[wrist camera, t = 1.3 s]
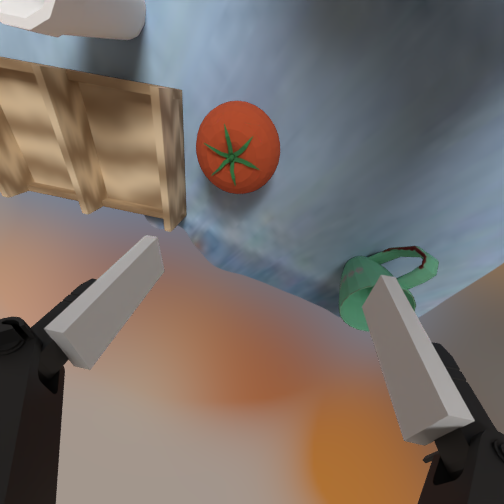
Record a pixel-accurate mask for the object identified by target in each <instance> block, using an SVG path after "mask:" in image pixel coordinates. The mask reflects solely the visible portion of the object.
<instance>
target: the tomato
mask: <svg viewBox="0 0 504 504" xmlns="http://www.w3.org/2000/svg"><path fill="white" fill-rule="evenodd" d="M196 153H197V158H198V162H199V164H200V167H201V169H202V171H203V172H204V174H205V176H206V177H207V178H208V179H209V180H210V182H212V183H213V184H214V185H215V186H216V187H218V188H220V189H222V190H224V191H226V192H229V193H235V194H245V193H249V192H253V191H255V190H257V189H259V188H261V187H262V186H263V185H265V184H266V183H267V181H268V180H269V179H270V178H271V177H272V175H273V174H274V172H275V170H276V168H277V165H278V162H279V157H280V141H279V136H278V133H277V130H276V128H275V126H274V124H273V122H272V121H271V119H270V118H269V117H268V116H267V115H266V114H265V112H264V111H263V110H261V109H260V108H258V107H257V106H255V105H253V104H250V103H248V102H243V101H230V102H226V103H224V104H221V105H219V106H217V107H216V108H214V109H213V110H212V111H210V112H209V114H208V115H207V116H206V117H205V118H204V120H203V122H202V123H201V125H200V128H199V131H198V134H197V141H196Z"/></svg>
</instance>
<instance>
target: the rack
mask: <svg viewBox="0 0 504 504" xmlns="http://www.w3.org/2000/svg"><path fill="white" fill-rule="evenodd" d="M27 191H33V192H38V193H43V194H48V195H52V196H57V197H62V198H67V199H71V200H76V201H79V204H80V207H81V210H82V213H84V214H90V213H92V212H94V211H96V210H97V209H99V208H101V207H102V206H105V207H110V208H115V209H120V210H124V211H129V212H134V213H138V214H143V215H148V216H153V217H158V218H162V219H164V227H165V231H169V232H171V231H172V230H173V229H174V228H175V227H176V226H177V225H178V224H179V223H180V222H181V221H182V220H183V218H184V217H185V216H186V188H185V160H184V132H183V105H182V90H180V89H174V88H169V87H163V86H158V85H152V84H147V83H141V82H136V81H130V80H125V79H119V78H114V77H109V76H103V75H98V74H92V73H87V72H81V71H76V70H70V69H65V68H59V67H54V66H48V65H43V64H37V63H32V62H26V61H21V60H16V59H10V58H5V57H0V192H1V194H2V196H4V197H12V196H15V195H18V194H20V193H24V192H27Z"/></svg>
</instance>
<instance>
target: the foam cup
mask: <svg viewBox="0 0 504 504" xmlns="http://www.w3.org/2000/svg"><path fill="white" fill-rule="evenodd" d="M145 14H146V5H145V0H0V22H2V23H3V24H6V25H10V26H13V27H17V28H21V29H25V30H28V31H32V32H36V33H41V34H45V35H49V36H54V37H59V36H61V35H72V36H83V37H94V38H106V39H117V40H131V39H133V38H135V37H137V36H139V34H140V32H141V30H142V28H143V26H144V24H145Z"/></svg>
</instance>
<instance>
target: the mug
mask: <svg viewBox="0 0 504 504" xmlns="http://www.w3.org/2000/svg"><path fill="white" fill-rule="evenodd" d="M398 257H421V258H422V259H423V261H422V265H420V266H419V267H417V268H416V269H414V270H413V271H412V272H410V273H407V274H405V275H403V276H401V277H398V278H396V279H397V281H398V283H399V285H400V287H401V288H402V290H403V292H404V294H405V296H406V297H407V299H408V301H409V303H410V305H411V306H412V308H413V310H414V312H415V307H416V303H415V300H414V297H413V295H412V294H411V293H410V291H409V290H408V289H410V288H413V287H415V286H417V285H420V284H422V283H424V282H426V281H428V280H429V279H431V278H433V277H434V276H436V274H437V269H438V264H439V262H438V260H437V259H435V258H434V257H432V256H431V255H430V254H428V253H427V252H425V251H424V250H423V249H421V248H420V247H418V246H409V247H395V248H389V249H386V250H384V251H382V252H379V253H377V254H375V255H372V256H370V257H364V256H357V257H354V258H352V259H350V260H349V261H348V262H347V263H346V265H345V267H344V270H343V273H342V277H341V281H340V291H339V313H340V316H341V318H342V319H343V321H344V322H345V323H347V324H348V325H349V326H351V327H353V328H356V329H358V330H364V331H369V328H368V325H367V322H366V318H365V315H364V312H363V309H362V306H363V304H364V303H365V301H366V299H367V298H368V296H369V294H370V292H371V291H372V289H373V287H374V286H375V284H376V282H377V281H378V279H379V277H380V276H381V275H386V276H391V277H394V276H393V275H392V274H391V273H390V272H389V271H388V270H387V269H385V268H384V267H383V266H381V265H380V264H382V263H385V262H388V261H390V260H393V259H395V258H398Z"/></svg>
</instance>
